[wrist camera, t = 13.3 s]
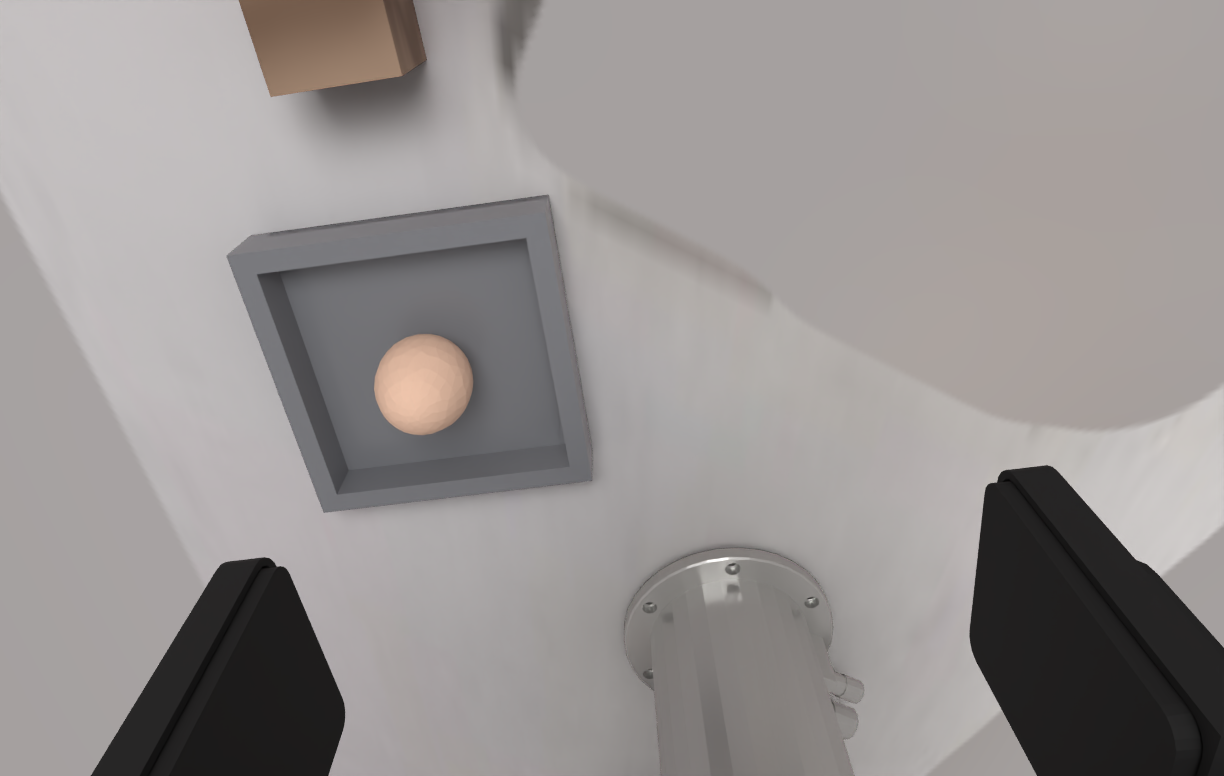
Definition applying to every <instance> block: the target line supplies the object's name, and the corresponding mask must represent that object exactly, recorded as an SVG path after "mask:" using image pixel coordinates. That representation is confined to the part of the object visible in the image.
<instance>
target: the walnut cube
mask: <svg viewBox="0 0 1224 776" xmlns="http://www.w3.org/2000/svg"><path fill="white" fill-rule="evenodd" d="M239 2H240V5H241V9H242V12H243V15H244V18H245V21H246V24H247V27H248V30H249V33H250V36H251V39H252V42H253V45H254V48H255V51H256V54H257V57H258V60H259V63H260V66H261V69H262V72H263V75H264V78H265V81H266V84H267V87H268V90H269V93H270V96H271V97H273V96H279V95H286V94H292V93H298V92H305V91H311V90H317V89H324V88H330V87H336V86H343V85H349V84H355V83H362V82H368V81H374V80H381V79H387V78H393V77H400V76H403V75H405V74H406V73H408V72H409V71H411V70H412V69H414V68H415V67H417V66H418V65H420V64H421V63H423V62H424V61H426V60H427V59H426V55H425V50H424V46H423V42H422V38H421V33H420V29H419V25H418V21H417V17H416V12H415V8H414V4H413V0H239Z"/></svg>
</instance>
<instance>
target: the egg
mask: <svg viewBox="0 0 1224 776" xmlns="http://www.w3.org/2000/svg"><path fill="white" fill-rule="evenodd" d="M472 390H473V374H472V369H471V366H470V364H469V361H468V359H467V357H466V356H465V354H464V353H463V351H462V350H461V349H460V348H459V347H458V346H456V345H455V344H454V343H453V342H452V341H450V340H448V339H446V338H443V337H441V336H438V335H433V334H417V335H413V336H409V337H406V338H404V339H402V340H401V341H399V342H397V343H396V344H394V345H393V346H392V347H391V348H390V349H389V350H388V351H387V352H386V354H385V355H384V357H383V358H382V360H381V361H380V363H379V366H378V369H377V372H376V375H375V383H374V392H375V398H376V401H377V404H378V406H379V408H380V411H381V412H382V414H383V416H384V417H385V418H386V420H387V421H388V422H389V423H390V424H392V425H393V426H394V427H396V428H397V429H399V430H401V431H403V432H405V433H409V434H413V435H427V434H433V433H435V432H438V431H440V430H443V429H445V428H446V427H448V426H450V425H452V424H453V423H454V422H455V421H456V420H457V419H458V418H459V417H460V416H461V415H462V413H463V412H464V411H465V409H466V407H467V404H468V402H469V400H470V397H471V394H472Z"/></svg>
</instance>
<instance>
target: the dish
mask: <svg viewBox="0 0 1224 776" xmlns="http://www.w3.org/2000/svg"><path fill="white" fill-rule="evenodd" d="M227 259H228V261H229V264H230V267H231V269H232V272H233V275H234V277H235V280H236V282H237V285H238V288H239V290H240V293H241V296H242V298H243V301H244V304H245V306H246V309H247V311H248V314H249V317H250V319H251V322H252V325H253V327H254V330H255V333H256V335H257V338H258V340H259V343H260V346H261V348H262V351H263V354H264V356H265V359H266V362H267V364H268V367H269V370H270V372H271V375H272V377H273V380H274V383H275V385H276V388H277V391H278V393H279V396H280V399H281V401H282V404H283V406H284V409H285V412H286V414H287V417H288V420H289V422H290V425H291V428H292V430H293V433H294V435H295V438H296V441H297V443H298V446H299V449H300V451H301V454H302V457H303V459H304V462H305V464H306V467H307V470H308V472H309V475H310V478H311V480H312V483H313V486H314V488H315V491H316V493H317V496H318V499H319V501H320V504H321V507H322V509H323V512H324V513H325V512H334V511H342V510H350V509H359V508H367V507H375V506H384V505H392V504H401V503H409V502H417V501H426V500H434V499H442V498H451V497H459V496H468V495H476V494H484V493H493V492H501V491H509V490H518V489H526V488H535V487H543V486H551V485H560V484H568V483H576V482H585V481H592V445H591V439H590V433H589V428H588V422H587V416H586V410H585V404H584V399H583V393H582V387H581V381H580V375H579V369H578V364H577V358H576V352H575V346H574V340H573V335H572V329H571V323H570V317H569V311H568V306H567V300H566V294H565V288H564V282H563V276H562V271H561V265H560V259H559V253H558V247H557V242H556V236H555V230H554V224H553V218H552V212H551V207H550V201H549V195H543V196H536V197H529V198H521V199H514V200H507V201H499V202H492V203H485V204H477V205H470V206H463V207H456V208H448V209H441V210H434V211H426V212H419V213H412V214H404V215H397V216H390V217H383V218H375V219H368V220H361V221H353V222H346V223H339V224H331V225H324V226H317V227H310V228H302V229H295V230H288V231H280V232H273V233H266V234H258V235H251V236H250V237H248V238H247V239H246V240H245V241H244V242H242V243H241V244H240V245H239V246H237V247H236V248H235V249H234V250H233V251H231V252H230V253H229V254H228V255H227ZM417 334H433V335H438V336H441V337H443V338H446V339H448V340H450V341H452V342H453V343H454V344H455V345H456V346H458V347H459V348H460V349H461V350H462V351H463V353H464V354H465V356H466V357H467V359H468V361H469V364H470V366H471V369H472V374H473V390H472V394H471V397H470V400H469V402H468V404H467V407H466V409H465V411H464V412H463V413H462V415H461V416H460V417H459V418H458V419H457V420H456V421H455V422H454V423H453V424H452V425H450V426H448V427H446V428H445V429H443V430H440V431H438V432H435V433H433V434H427V435H413V434H409V433H405V432H403V431H401V430H399V429H397V428H396V427H394V426H393V425H392V424H390V423H389V422H388V421H387V420H386V418H385V417H384V416H383V414H382V412H381V411H380V408H379V406H378V404H377V401H376V398H375V392H374V383H375V375H376V372H377V369H378V366H379V363H380V361H381V360H382V358H383V357H384V355H385V354H386V352H387V351H388V350H389V349H390V348H391V347H392V346H393V345H394V344H396V343H397V342H399V341H401V340H402V339H404V338H406V337H409V336H413V335H417Z"/></svg>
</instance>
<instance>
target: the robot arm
mask: <svg viewBox="0 0 1224 776" xmlns="http://www.w3.org/2000/svg"><path fill="white" fill-rule="evenodd" d="M832 633H833V621H832V613H831V610H830V607H829V604H828V601H827V598H826V596H825V594H824V592H823V591H822V589H821V587H820V585H819V583H818V582H817V581H816V580H815V579H814V578H813V577H812V576H811V575H810V574H809V573H808V572H807V571H806V570H805V569H803V568H802V567H800V566H799V565H797V564H796V563H794V562H793V561H791V560H788V559H786V558H784V557H781V556H779V555H777V554H774V553H769V552H765V551H761V550H757V549H746V548H726V549H714V550H710V551H705V552H701V553H696V554H693V555H691V556H688V557H685V558H683V559H680V560H678V561H675V562H674V563H672V564H670V565H668V566H667V567H665V568H663V569H662V570H660V571H659V572H657V573H656V574H655V575H654V576H653V577H651V578H650V579H649V580H648V581H647V582H645V584H644V585H643V586H642V587H641V589H640V590H639V591H638V592H637V594H636V595H635V596H634V598H633V600H632V602H631V604H630V606H629V608H628V610H627V615H626V619H625V623H624V642H625V649H626V655H627V658H628V660H629V662H630V665H631V667H632V669H633V670H634V672H635V673H636V675H637V676H638V677H639V679H640V680H641V681H642V682H644V683H645V684H646V685H647V686H648V687H649V688H651V689H652V690H653V691H654V695H655V708H656V720H657V733H658V746H659V759H660V772H661V776H855V775H854V772H853V769H852V766H851V763H850V759H849V756H848V753H847V750H846V747H845V743H844V740H843V739H849V738H851V737H852V736H853V735H854V733H855V732H856V730H857V726H858V715H857V713H856V711H855V709H853V708H850V707H848V706H845V705H843V704H840V703H838V702H835V701H832V700H831V699H830V695H829V693H832V694H835V696H837V697H839V698H842V699H844V700H847V701H849V702H852V703H858V702H860V701H861V699H862V697H863V694H864V685H863V683H862V682H861V681H859V680H857V679H854V678H852V677H849V676H847V675H844V674H839V673H836V672H834V669H833V667H832V665H831V662H830V659H829V656H828V653H827V651H828V649H829V646H830V644H831V640H832ZM970 643H971V648H972V652H973V655H974V657H975V660H976V662H977V664H978V666H979V668H980V670H981V671H982V673H983V675H984V677H985V679H986V681H987V683H988V685H989V686H990V688H991V690H992V692H993V694H994V696H995V698H996V700H997V701H998V703H999V705H1000V707H1001V709H1002V711H1003V713H1004V715H1005V716H1006V718H1007V720H1008V722H1009V724H1010V726H1011V728H1012V730H1013V731H1014V733H1015V735H1016V737H1017V739H1018V741H1019V743H1020V744H1021V746H1022V748H1023V750H1024V752H1025V754H1026V756H1027V757H1028V760H1029V761H1030V763H1031V765H1032V767H1033V769H1034V771H1035V772H1036V775H1037V776H1224V648H1223V647H1222V645H1221V644H1220V643H1219V642H1218V641H1217V640H1216V639H1215V638H1214V636H1212V634H1211V633H1210V632H1209V631H1208V630H1207V629H1206V627H1205V626H1204V625H1203V624H1202V623H1201V622H1200V621H1199V620H1198V619H1197V617H1196V616H1195V615H1194V614H1193V613H1192V612H1191V611H1190V610H1189V609H1188V607H1187V606H1186V605H1185V604H1184V603H1183V602H1182V601H1181V600H1180V599H1179V597H1178V596H1177V595H1176V594H1175V593H1174V592H1173V591H1172V590H1171V588H1170V587H1169V586H1168V585H1167V584H1166V583H1165V582H1164V581H1163V580H1162V578H1161V577H1160V576H1159V575H1158V574H1157V573H1156V572H1155V571H1154V570H1152V569H1151V568H1150V567H1149V566H1148V565H1147V564H1145V563H1142V562H1140V561H1137V560H1136V559H1135V558H1134V557H1133V556H1132V555H1131V554H1130V553H1129V552H1128V550H1127V549H1126V548H1125V547H1124V546H1123V545H1122V544H1121V542H1120V541H1119V540H1118V539H1117V538H1116V537H1115V536H1114V535H1113V533H1112V532H1111V531H1110V530H1109V529H1108V528H1107V527H1106V525H1105V524H1104V523H1103V522H1102V521H1101V520H1100V519H1099V518H1098V516H1097V515H1096V514H1095V513H1094V512H1093V511H1092V510H1091V508H1090V507H1089V506H1088V505H1087V504H1086V503H1085V502H1084V501H1083V499H1082V498H1081V497H1080V496H1079V495H1078V494H1077V493H1076V492H1075V490H1074V489H1073V488H1072V487H1071V486H1070V485H1069V484H1068V482H1067V481H1066V480H1065V479H1064V478H1063V477H1062V476H1061V475H1060V473H1059V472H1058V471H1057V470H1056V469H1054V468H1053V467H1051V466H1048V465H1046V466H1037V467H1029V468H1020V469H1012V470H1005V471H1003V472H1001V473H1000V475H999V477H998V481H997V483H990V484H988V485H987V487H986V490H985V495H984V504H983V514H982V523H981V532H980V541H979V550H978V559H977V569H976V578H975V587H974V596H973V605H972V614H971V623H970ZM344 723H345V707H344V702H343V699H342V696H341V694H340V691H339V689H338V687H337V684H336V682H335V680H334V677H333V675H332V673H331V670H330V668H329V666H328V663H327V661H326V659H325V656H324V654H323V651H322V649H321V647H320V644H319V642H318V640H317V637H316V635H315V633H314V630H313V628H312V626H311V623H310V621H309V619H308V616H307V614H306V611H305V609H304V607H303V604H302V602H301V600H300V597H299V595H298V593H297V590H296V588H295V586H294V583H293V581H292V579H291V576H290V574H289V572H288V571H287V569H286V568H284V567H281V566H280V567H276V565H275V563H274V562H273V561H272V560H271V559H270V558H265V557H264V558H256V559H247V560H239V561H230V562H225V563H223V564H221V565H220V567H219V568H218V569H217V570H216V572H215V573H214V575H213V577H212V578H211V580H210V582H209V583H208V585H207V587H206V588H205V590H204V591H203V593H202V595H201V596H200V598H199V600H198V601H197V603H196V605H195V606H194V608H193V610H192V611H191V613H190V615H189V616H188V618H187V619H186V621H185V623H184V624H183V626H182V627H181V629H180V631H179V632H178V634H177V636H176V637H175V639H174V641H173V642H172V644H171V645H170V647H169V649H168V650H167V652H166V654H165V655H164V657H163V659H162V660H161V662H160V663H159V665H158V667H157V669H156V670H155V672H154V673H153V675H152V677H151V678H150V680H149V681H148V683H147V685H146V686H145V688H144V690H143V691H142V693H141V695H140V696H139V698H138V700H137V701H136V703H135V704H134V706H133V708H132V709H131V711H130V713H129V714H128V716H127V718H126V719H125V721H124V722H123V724H122V726H121V727H120V729H119V731H118V733H117V734H116V736H115V737H114V739H113V740H112V742H111V744H110V745H109V747H108V749H107V750H106V752H105V754H104V756H103V757H102V759H101V760H100V762H99V764H98V765H97V767H96V768H95V770H94V772H93V773H92V775H91V776H328V775H329V772H330V768H331V765H332V762H333V759H334V756H335V753H336V750H337V747H338V744H339V741H340V738H341V735H342V731H343V728H344Z"/></svg>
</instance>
